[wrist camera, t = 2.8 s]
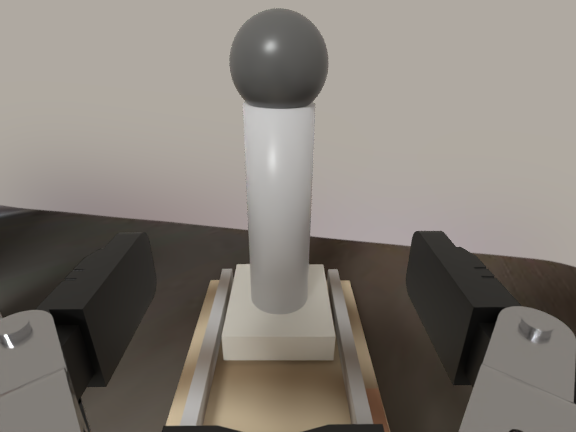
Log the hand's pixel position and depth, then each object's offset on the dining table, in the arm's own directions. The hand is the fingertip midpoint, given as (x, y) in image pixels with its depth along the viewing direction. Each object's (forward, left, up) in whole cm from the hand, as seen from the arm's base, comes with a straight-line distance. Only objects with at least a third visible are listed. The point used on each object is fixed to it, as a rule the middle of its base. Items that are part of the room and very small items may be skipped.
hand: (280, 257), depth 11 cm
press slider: (-6, +10, -12) cm, 17 cm away
